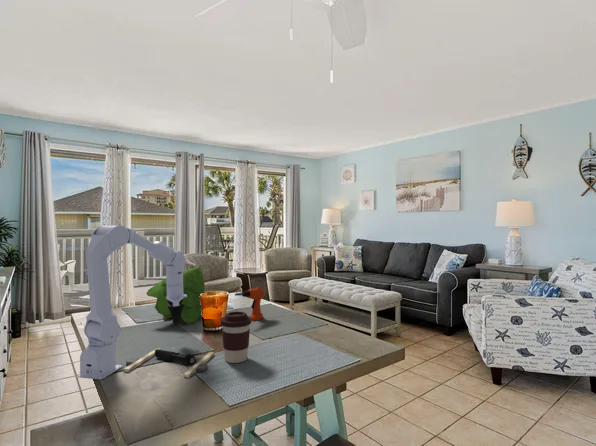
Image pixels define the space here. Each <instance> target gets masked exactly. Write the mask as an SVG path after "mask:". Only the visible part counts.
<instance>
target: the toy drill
mask: <svg viewBox="0 0 596 446" xmlns="http://www.w3.org/2000/svg"><path fill="white" fill-rule="evenodd" d="M234 296H242V297H243V298H247V299H249V300H250V299H251V300H252V304H251V306H250V307H251V308H252V311H251V314H250V316H249V315H248V316H249V317H251V320H252V321H251V322H255V320H256V321H260V320H262V319H263V318H264V315H263V312H261V300H262V299H263V298H264V296H265V291H264V290H263V289H262V288H261V286H257V287H253V288H250V289H247V290H244V291H241V292H240V293H239V292H238V293H237V292H236V293H234ZM259 319H260V320H259Z"/></svg>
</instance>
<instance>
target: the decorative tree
mask: <svg viewBox="0 0 596 446" xmlns="http://www.w3.org/2000/svg"><path fill="white" fill-rule="evenodd" d="M205 291H206V290H205V279H204V275H203V270H202V266H201V265H200V266H197V267H193V268H189V269H186V270H185V269H184V270H183V293H184V294H186V295H187V297H185V298H183V301H182V303H181V304H184V308H183V310H182V313H181V319H182V320H183V322H184V323H185V324H187V325H188V326H189V325H191V326H192V325H194V324H195V323H196V321H197V320H199V318H200V317H202V315H201V305H200V297H199V296H200V294H201V293H205V294H206V292H205ZM145 294H146V295H147V296H148V297H152V298H155V299H156V302H155V306H154V308H155V311H157V313H158V314H160V315H161V316H162V320H163V321H167V320H169V319H170V318H172V317H171V313H170V311H169V309H168V306H167V305H169V303H168V302H167V299H166V297H167V281H166V278H164V279H163V280H161V281H158V282H156V284H155V285H153V286H152V287H150V288H149V289H148V290H147V292H146V293H145Z"/></svg>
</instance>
